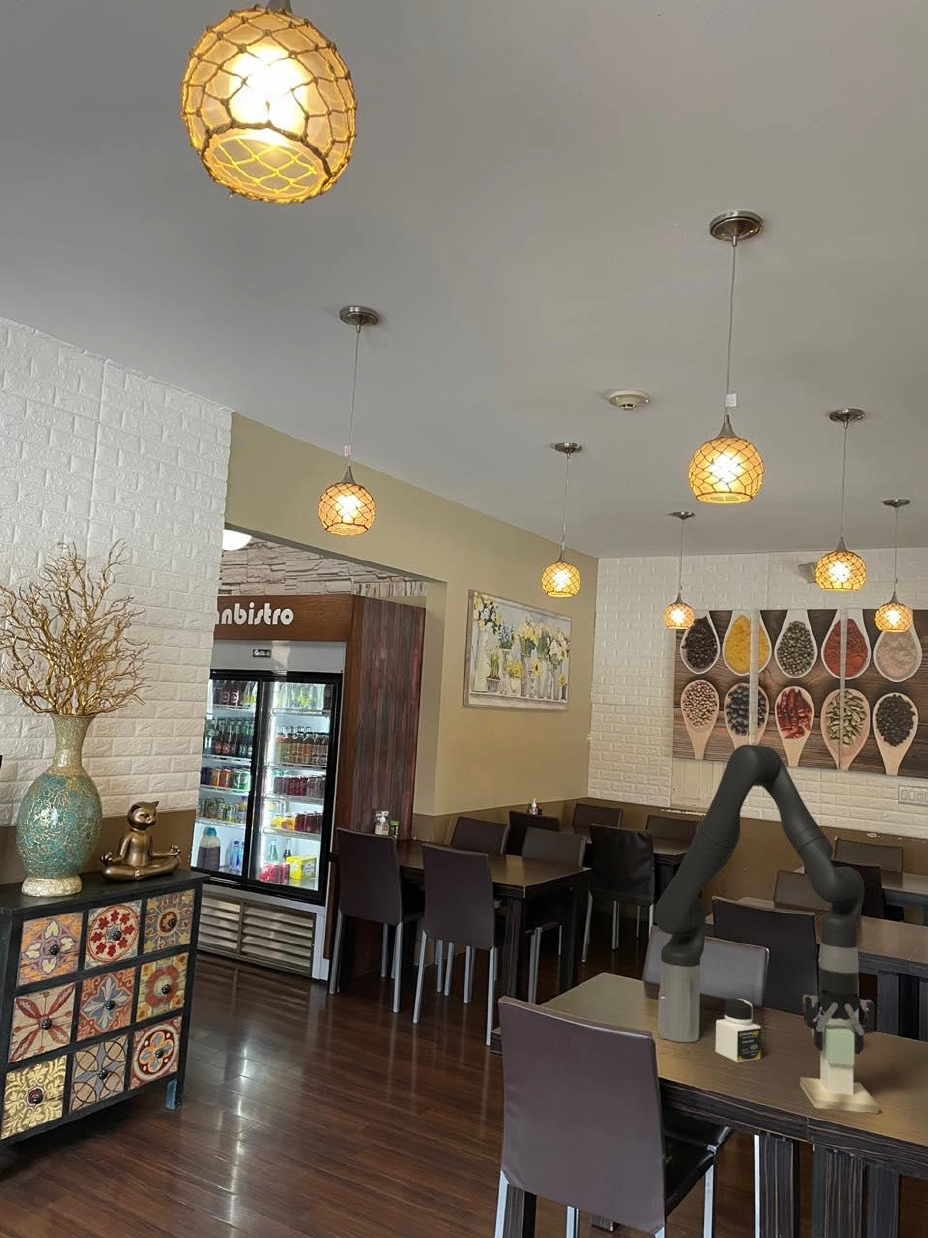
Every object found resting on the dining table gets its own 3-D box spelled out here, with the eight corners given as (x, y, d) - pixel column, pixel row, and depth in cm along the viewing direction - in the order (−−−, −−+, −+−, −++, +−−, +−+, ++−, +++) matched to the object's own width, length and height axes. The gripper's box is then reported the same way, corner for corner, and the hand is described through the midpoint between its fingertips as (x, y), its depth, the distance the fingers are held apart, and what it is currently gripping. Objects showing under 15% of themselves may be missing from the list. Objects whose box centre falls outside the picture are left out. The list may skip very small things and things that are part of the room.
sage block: (828, 1063, 186) (828, 1031, 187) (821, 1054, 191) (821, 1024, 192) (854, 1065, 186) (854, 1034, 187) (846, 1056, 191) (846, 1026, 192)
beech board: (815, 1108, 182) (815, 1100, 182) (800, 1085, 194) (800, 1077, 194) (878, 1114, 181) (878, 1105, 181) (859, 1090, 193) (859, 1083, 193)
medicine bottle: (737, 1063, 205) (738, 1007, 207) (714, 1052, 212) (715, 998, 213) (761, 1059, 209) (762, 1004, 210) (738, 1049, 215) (739, 995, 216)
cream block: (827, 1092, 186) (827, 1061, 187) (820, 1083, 191) (820, 1053, 192) (853, 1095, 186) (853, 1063, 187) (845, 1085, 191) (845, 1055, 192)
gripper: (807, 968, 188) (806, 1054, 186) (881, 974, 186) (881, 1061, 184) (797, 959, 195) (797, 1042, 193) (869, 965, 193) (869, 1048, 191)
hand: (838, 1051), depth 189 cm, fingers open, 6 cm apart
